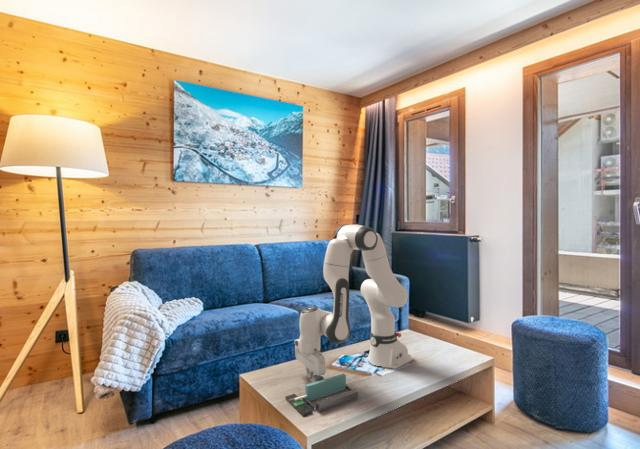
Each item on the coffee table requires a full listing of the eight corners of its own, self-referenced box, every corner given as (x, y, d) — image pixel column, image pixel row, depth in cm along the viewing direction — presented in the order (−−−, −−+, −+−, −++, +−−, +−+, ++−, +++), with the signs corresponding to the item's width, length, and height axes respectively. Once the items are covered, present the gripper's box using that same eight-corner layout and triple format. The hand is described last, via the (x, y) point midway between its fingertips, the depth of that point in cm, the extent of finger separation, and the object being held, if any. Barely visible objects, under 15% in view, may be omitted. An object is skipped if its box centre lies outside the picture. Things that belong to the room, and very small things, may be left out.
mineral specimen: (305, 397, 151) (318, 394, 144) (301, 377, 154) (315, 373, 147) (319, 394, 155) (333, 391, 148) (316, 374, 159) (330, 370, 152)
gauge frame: (338, 382, 157) (338, 375, 156) (360, 398, 144) (360, 390, 144) (285, 399, 143) (285, 391, 143) (304, 418, 131) (304, 409, 130)
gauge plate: (343, 387, 152) (343, 373, 151) (345, 389, 150) (345, 374, 150) (294, 403, 139) (294, 388, 139) (295, 405, 138) (295, 390, 138)
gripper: (329, 352, 149) (329, 385, 150) (304, 336, 166) (304, 366, 167) (316, 355, 146) (316, 389, 146) (292, 339, 163) (292, 369, 164)
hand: (310, 377), depth 157 cm, fingers closed
